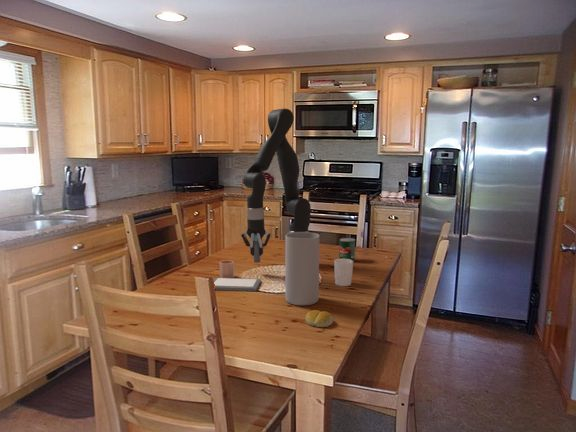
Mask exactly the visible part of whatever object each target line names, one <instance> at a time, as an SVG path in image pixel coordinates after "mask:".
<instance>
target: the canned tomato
mask: <svg viewBox="0 0 576 432" xmlns="http://www.w3.org/2000/svg"><path fill="white" fill-rule="evenodd" d="M338 251H339V253H338V256H339V258H338V259H350V260H352V261H353V263H354V262H355V261H356V259H355V257H356V239H355V238H351V237H342V238H340V239H339V250H338Z"/></svg>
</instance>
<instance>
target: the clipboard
mask: <svg viewBox="0 0 576 432" xmlns="http://www.w3.org/2000/svg"><path fill="white" fill-rule="evenodd" d="M213 280H214V284H215V289H216V290H215V291H232V292H233V291H235V292H257V290H258V289H259V287H260V285H261V283H262V278H247V277H245V278H244V277H243V278H242V277H234V278H220V277H215V278H214V279H213ZM260 282H261V283H260ZM259 284H260V285H259ZM258 286H259V287H258ZM257 288H258V289H257Z"/></svg>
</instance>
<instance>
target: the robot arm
mask: <svg viewBox="0 0 576 432" xmlns="http://www.w3.org/2000/svg"><path fill="white" fill-rule="evenodd" d="M294 118H295V117H294V113H293V112H292V110H291V109H289V108H278V109H273V110H270V112H269V113H268V115H267V124H268V127H269V131H270V135H269V137H268V138H267V140H266V141H264V143H263V144H262V145H261V146H260V148H259V150H258V153H257V154H256V157H255V159H254V161H253V163H252V164H251V165H250V166H249V168H248V169H247V170H246V172H245V174H244V176H243V178H242V179H243V180H242V181H243V182H242V183H243V185H244V187H246V188H247V189H252V191H251V194H248V195H247V197H246V202H247V203H246V207H247V210H246V221H247V222H246V223H247V230H246V231H245V232H242V233H241V234H240V235H241V238H242V240H243V242H244V244H245V246H246V247H248V248H249V249H250V255H251V256H253V257H254V250H253V240H254V234H257V237H258V241H259V245H260V248H259V250H260V257H261V256H262V255H264V247H266V246H267V245H268V243H269V240H270V238H271V236H272V233H271V232H269V233H268V231H266V229H265V211H264V196H265V191H266V187H267V180H266V176H265V175H264V174H263V172H267V171H268V170H269V168H270V165H271V164H272V161H273V159H274V157H275V155H276V158H277V162H278V167H279V172H280V175H281V176H280V177H281V181H282V185H283V190H284V192H283V193H284V200H285V208H286V211H287V213H288V214H289V215H291V216H293V222H291V223H290V224H289V226H288V233H294V232H309V226H310V224H311V212H312V211H311V209H312V208H311V204H310V201H309V200H308V199H307V198H305V197H300V194H299V189H298V180H299V177H300V164H299V160H298V155H297V153H296V152H295V150H294V148H293V146H291V145H292V144H290V142H289V141H288V138H287V136H286V135H287V134H288V132H289V131H290V129H291V128H292V126H293V124H294V120H295V119H294ZM263 237H265V241H264V243H263ZM248 238H250V241H249V240H248Z"/></svg>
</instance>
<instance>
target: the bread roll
mask: <svg viewBox="0 0 576 432" xmlns="http://www.w3.org/2000/svg"><path fill="white" fill-rule="evenodd" d="M305 322H306V324H307V325H308V326H312V327H316V328H327V327H329V326H331V325H332V324H333V323H334V317H333V315H332V314H331V313H329V312H328V311H324V310H323V311H320V310H318V309H313V310H310V311H308V312H307V313H306V315H305Z"/></svg>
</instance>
